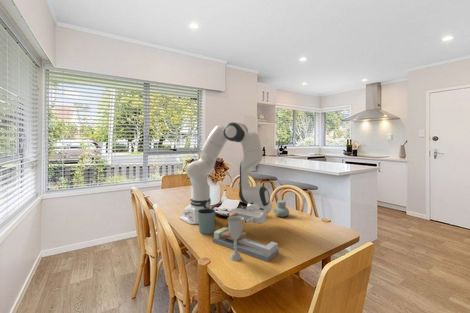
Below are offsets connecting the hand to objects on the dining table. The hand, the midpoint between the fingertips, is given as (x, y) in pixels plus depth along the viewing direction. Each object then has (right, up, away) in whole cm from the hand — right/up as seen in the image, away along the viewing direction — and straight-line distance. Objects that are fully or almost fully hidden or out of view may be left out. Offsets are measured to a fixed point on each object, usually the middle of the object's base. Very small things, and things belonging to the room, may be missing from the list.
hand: (238, 219), depth 122 cm
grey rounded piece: (+30, -8, +39) cm, 50 cm away
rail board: (+3, -12, -6) cm, 14 cm away
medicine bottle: (+11, -8, +40) cm, 42 cm away
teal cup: (-18, -10, +13) cm, 24 cm away
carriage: (-3, -8, -3) cm, 8 cm away
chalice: (-2, -13, -17) cm, 21 cm away
